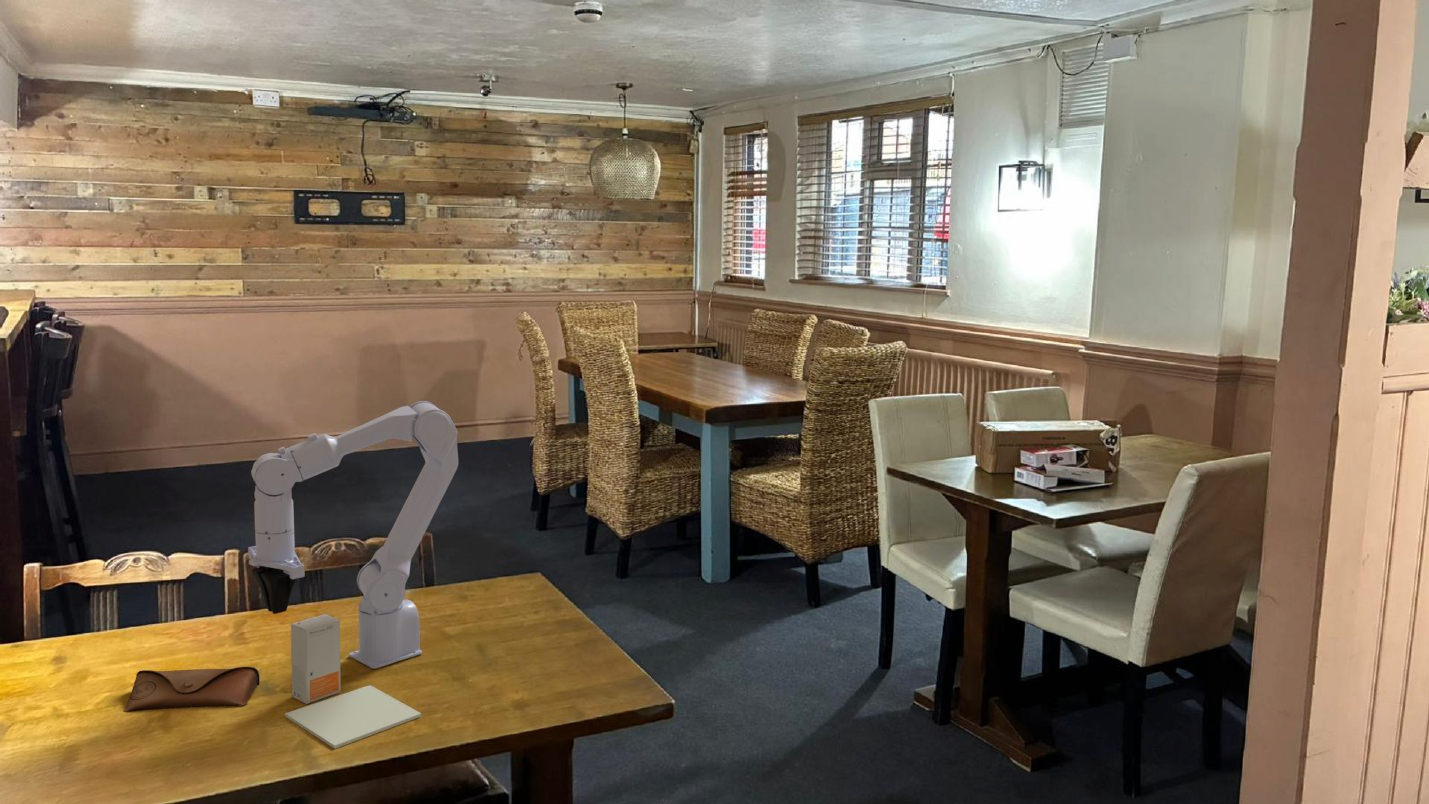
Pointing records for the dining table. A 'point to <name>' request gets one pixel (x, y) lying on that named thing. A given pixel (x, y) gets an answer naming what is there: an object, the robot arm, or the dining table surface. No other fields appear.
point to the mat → (352, 716)
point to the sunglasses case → (192, 688)
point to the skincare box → (315, 658)
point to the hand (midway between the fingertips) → (277, 611)
